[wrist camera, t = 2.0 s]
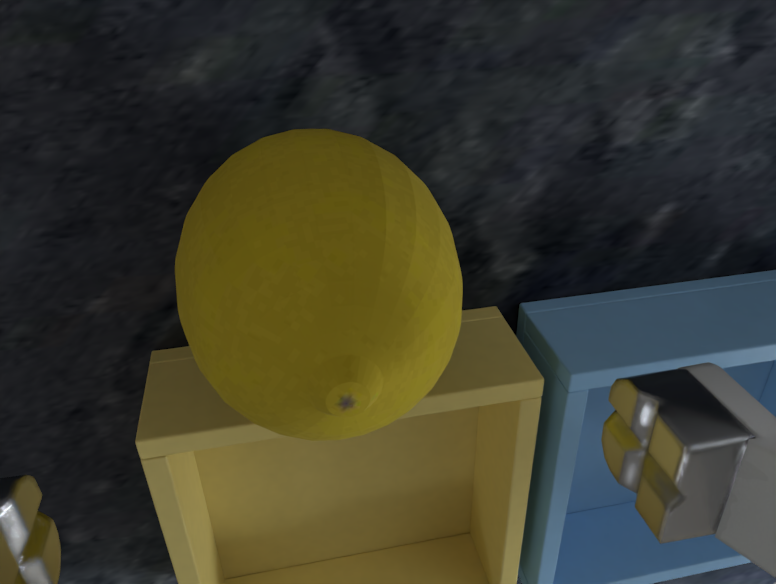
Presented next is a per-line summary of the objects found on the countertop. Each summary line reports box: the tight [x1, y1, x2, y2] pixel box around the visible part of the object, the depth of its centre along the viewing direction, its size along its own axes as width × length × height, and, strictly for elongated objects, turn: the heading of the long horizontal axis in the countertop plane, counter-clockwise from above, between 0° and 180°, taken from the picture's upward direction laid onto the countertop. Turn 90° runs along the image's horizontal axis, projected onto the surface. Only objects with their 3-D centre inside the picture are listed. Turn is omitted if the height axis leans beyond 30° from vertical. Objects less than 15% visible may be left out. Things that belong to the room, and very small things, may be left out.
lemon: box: [175, 129, 463, 441], centre depth 13 cm, size 6×6×8 cm
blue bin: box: [516, 270, 776, 584], centre depth 21 cm, size 10×10×4 cm
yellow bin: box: [135, 306, 544, 584], centre depth 20 cm, size 10×10×4 cm
